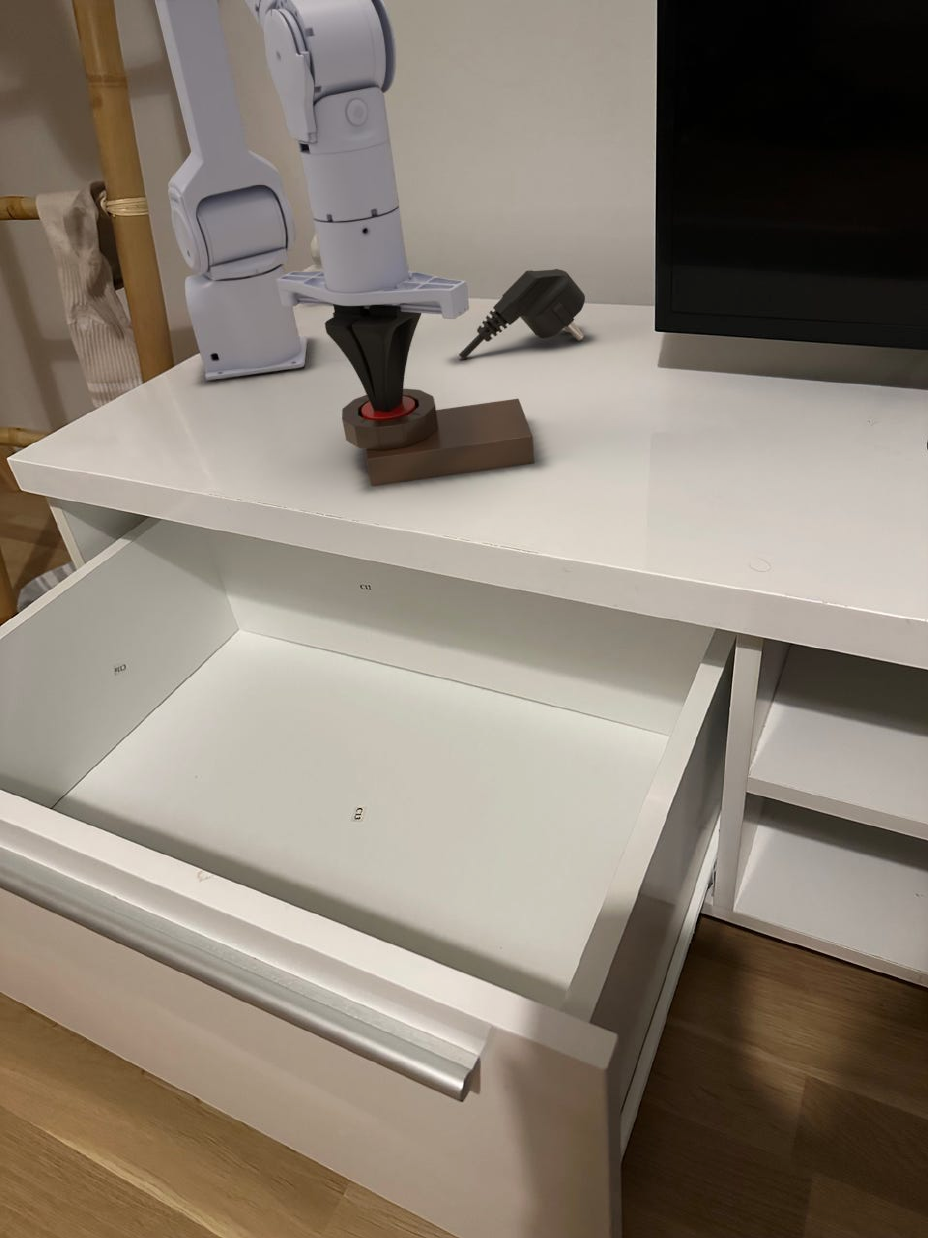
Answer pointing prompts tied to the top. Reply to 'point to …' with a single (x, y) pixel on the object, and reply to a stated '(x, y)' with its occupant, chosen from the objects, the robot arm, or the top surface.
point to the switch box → (439, 439)
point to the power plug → (535, 307)
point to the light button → (396, 413)
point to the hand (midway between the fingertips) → (388, 406)
